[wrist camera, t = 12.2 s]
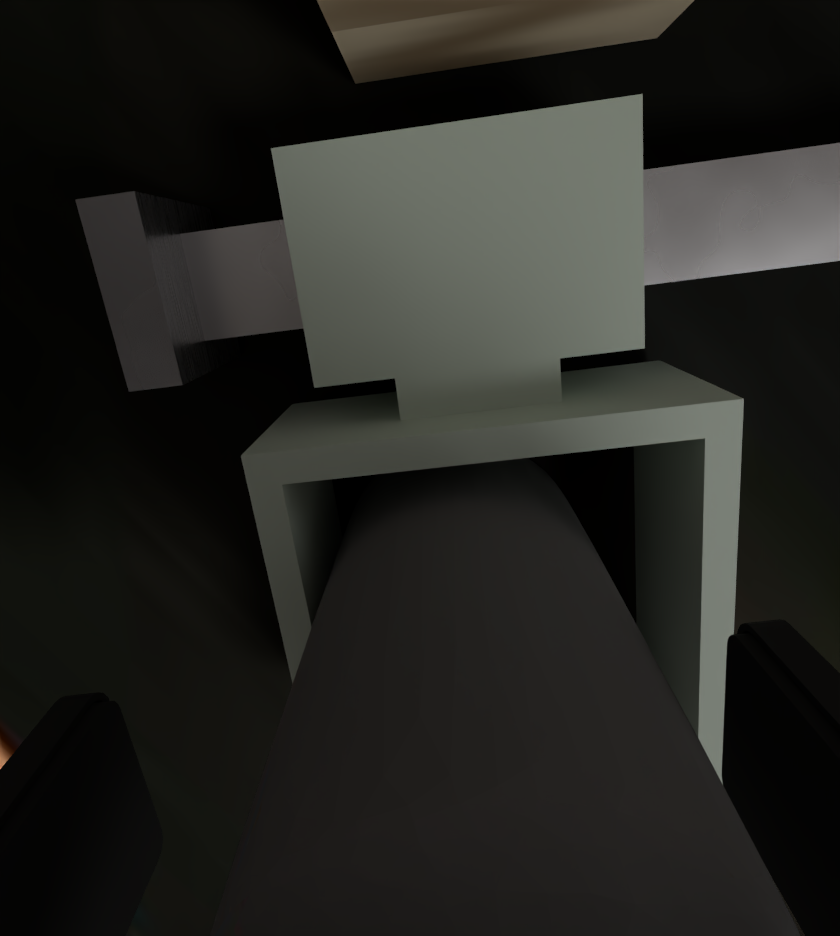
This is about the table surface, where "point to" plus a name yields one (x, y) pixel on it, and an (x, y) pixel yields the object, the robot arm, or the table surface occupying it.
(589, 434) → the carriage
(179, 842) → the table surface
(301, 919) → the bottle
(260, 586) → the table surface
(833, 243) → the rail
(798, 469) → the table surface
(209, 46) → the table surface
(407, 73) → the wooden box
